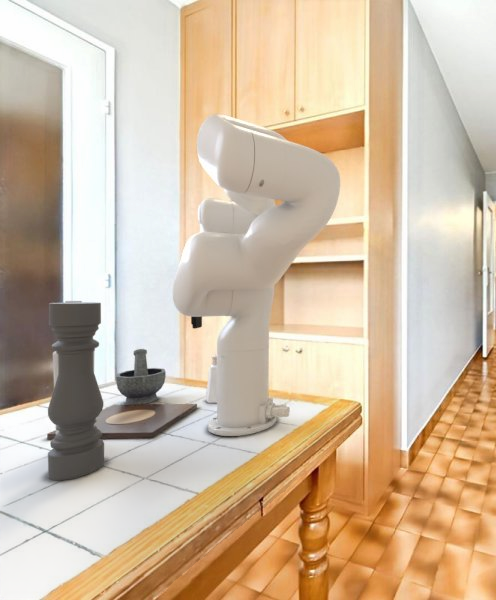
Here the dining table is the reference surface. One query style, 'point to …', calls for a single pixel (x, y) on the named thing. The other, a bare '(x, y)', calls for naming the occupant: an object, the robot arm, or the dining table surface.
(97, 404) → the candle holder
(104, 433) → the board
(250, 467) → the dining table surface
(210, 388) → the pepper shaker
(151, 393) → the mortar and pestle
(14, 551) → the dining table surface
